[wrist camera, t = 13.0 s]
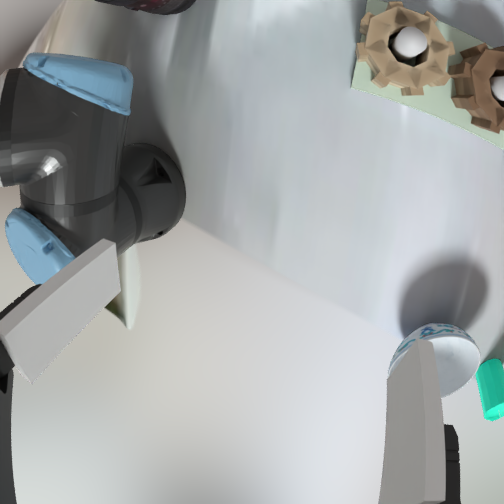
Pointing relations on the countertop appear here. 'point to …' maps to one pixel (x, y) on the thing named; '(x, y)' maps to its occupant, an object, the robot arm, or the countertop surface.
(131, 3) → the camera lens
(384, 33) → the maple gear
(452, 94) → the gear board
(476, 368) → the chinaware
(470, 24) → the countertop surface
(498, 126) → the walnut gear
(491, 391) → the candle
